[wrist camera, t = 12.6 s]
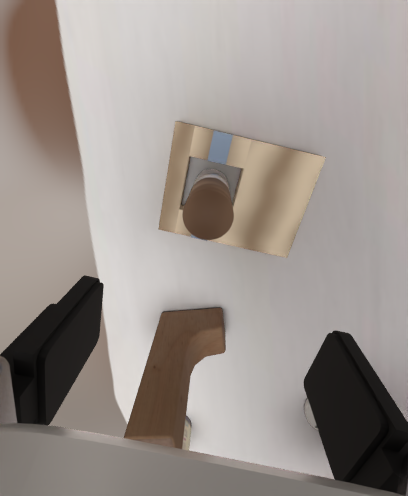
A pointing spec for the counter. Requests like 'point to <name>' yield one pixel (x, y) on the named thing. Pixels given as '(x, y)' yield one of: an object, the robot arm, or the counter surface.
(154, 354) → the wooden block
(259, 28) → the counter surface
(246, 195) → the board
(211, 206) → the two-tone cylinder
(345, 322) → the counter surface
